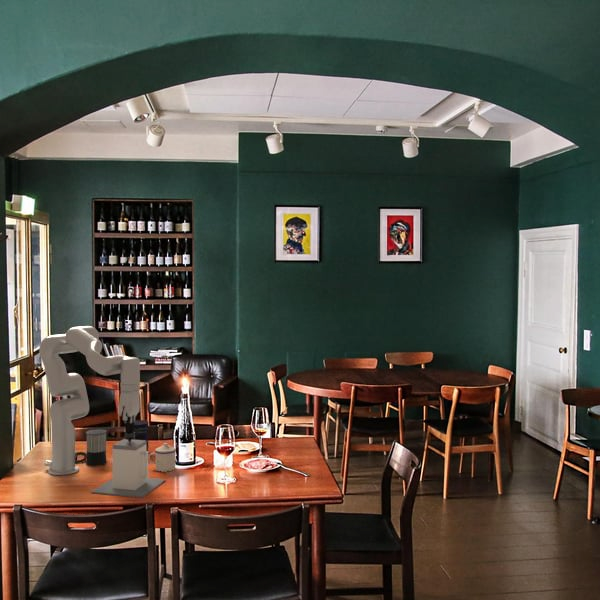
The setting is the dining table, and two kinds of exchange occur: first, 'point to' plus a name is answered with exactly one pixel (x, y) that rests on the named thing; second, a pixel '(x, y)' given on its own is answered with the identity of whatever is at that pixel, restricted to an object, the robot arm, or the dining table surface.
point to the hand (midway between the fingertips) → (129, 432)
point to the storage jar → (141, 431)
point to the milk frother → (94, 448)
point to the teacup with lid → (164, 458)
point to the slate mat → (140, 492)
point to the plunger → (130, 436)
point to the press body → (129, 464)
